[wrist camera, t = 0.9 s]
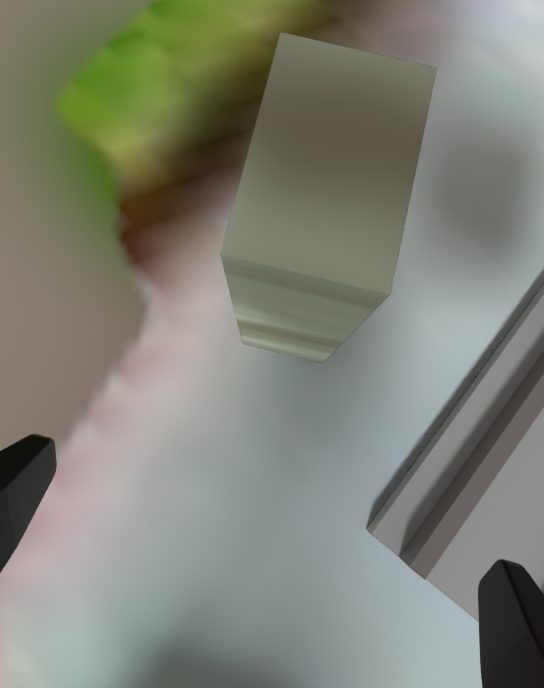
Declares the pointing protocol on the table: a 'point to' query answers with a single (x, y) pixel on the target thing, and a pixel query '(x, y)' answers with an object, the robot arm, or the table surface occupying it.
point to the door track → (479, 476)
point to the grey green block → (323, 194)
